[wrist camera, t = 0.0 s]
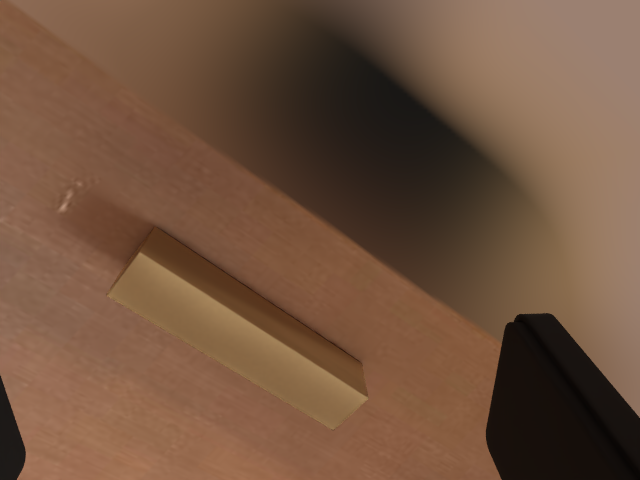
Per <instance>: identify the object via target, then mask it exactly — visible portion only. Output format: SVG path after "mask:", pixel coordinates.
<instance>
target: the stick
mask: <svg viewBox="0 0 640 480" xmlns="http://www.w3.org/2000/svg"><path fill="white" fill-rule="evenodd" d="M107 296H108V297H110V298H111V299H113V300H115V301H116V302H118V303H120V304H122V305H123V306H125V307H127V308H128V309H130V310H132V311H133V312H135V313H137V314H138V315H140V316H142V317H143V318H145V319H147V320H148V321H150V322H152V323H153V324H155V325H157V326H158V327H160V328H162V329H164V330H165V331H167V332H169V333H170V334H172V335H174V336H175V337H177V338H179V339H180V340H182V341H184V342H185V343H187V344H189V345H190V346H192V347H194V348H195V349H197V350H199V351H200V352H202V353H204V354H206V355H207V356H209V357H211V358H212V359H214V360H216V361H217V362H219V363H221V364H222V365H224V366H226V367H227V368H229V369H231V370H232V371H234V372H236V373H237V374H239V375H241V376H243V377H244V378H246V379H248V380H249V381H251V382H253V383H254V384H256V385H258V386H259V387H261V388H263V389H264V390H266V391H268V392H269V393H271V394H273V395H274V396H276V397H278V398H279V399H281V400H283V401H285V402H286V403H288V404H290V405H291V406H293V407H295V408H296V409H298V410H300V411H301V412H303V413H305V414H306V415H308V416H310V417H311V418H313V419H315V420H316V421H318V422H320V423H322V424H323V425H325V426H327V427H328V428H330V429H332V430H335V429H336V428H337V427H338V426H339V425H340V424H341V423H342V422H343V421H344V420H346V419H347V418H348V417H349V416H350V415H351V414H352V413H353V412H354V411H355V410H356V409H358V408H359V407H360V406H361V405H362V404H363V403H364V402H365V401H366V400H367V399H368V393H367V388H366V383H365V378H364V372H363V367H362V363H360V362H359V361H357V360H356V359H354V358H353V357H351V356H350V355H348V354H347V353H345V352H344V351H342V350H341V349H339V348H338V347H336V346H335V345H333V344H332V343H330V342H329V341H327V340H326V339H324V338H323V337H321V336H319V335H318V334H316V333H315V332H313V331H312V330H310V329H309V328H307V327H306V326H304V325H303V324H301V323H300V322H298V321H297V320H295V319H294V318H292V317H291V316H289V315H288V314H286V313H285V312H283V311H282V310H280V309H279V308H277V307H276V306H274V305H273V304H271V303H270V302H268V301H267V300H265V299H264V298H262V297H261V296H259V295H258V294H256V293H255V292H253V291H252V290H250V289H249V288H247V287H246V286H244V285H243V284H241V283H240V282H238V281H237V280H235V279H234V278H232V277H231V276H229V275H228V274H226V273H225V272H223V271H222V270H220V269H219V268H217V267H216V266H214V265H213V264H211V263H210V262H208V261H207V260H205V259H204V258H202V257H201V256H199V255H198V254H196V253H195V252H193V251H192V250H190V249H189V248H187V247H186V246H184V245H183V244H181V243H180V242H178V241H177V240H175V239H173V238H172V237H170V236H169V235H167V234H166V233H164V232H163V231H161V230H160V229H158V228H157V227H154V228H153V229H152V231H151V232H150V233H149V235H148V236H147V237H146V239H145V240H144V241H143V243H142V244H141V245H140V246H139V248H138V249H137V250H136V252H135V253H134V254H133V256H132V257H131V258H130V260H129V261H128V262H127V263H126V265H125V266H124V268H123V269H122V271H121V272H120V274H119V276H118V277H117V279H116V280H115V282H114V284H113V285H112V287H111V288H110V290H109V291H108V293H107Z"/></svg>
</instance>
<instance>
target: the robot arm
mask: <svg viewBox="0 0 640 480" xmlns="http://www.w3.org/2000/svg"><path fill="white" fill-rule="evenodd" d="M486 441H487V446H488V449H489V452H490V454H491V456H492V458H493V461H494V463H495V465H496V467H497V470H498V472H499V474H500V477H501V479H502V480H640V418H639V416H638V415H637V414H636V413H635V412H634V411H633V409H632V408H631V407H630V406H629V405H628V403H627V402H626V401H625V400H624V399H623V398H622V396H621V395H620V394H619V393H618V392H617V390H616V389H615V388H614V387H613V386H612V384H611V383H610V382H609V381H608V380H607V378H606V377H605V376H604V375H603V374H602V372H601V371H600V370H599V369H598V368H597V367H596V365H595V364H594V363H593V362H592V361H591V359H590V358H589V357H588V356H587V355H586V353H584V351H583V350H582V349H581V348H580V346H579V345H578V344H577V343H576V342H575V340H574V339H573V338H572V337H571V336H570V334H569V333H568V332H567V331H566V330H565V328H564V327H563V326H562V325H561V324H560V322H559V321H558V320H557V319H556V318H555V317H554V316H553V315H552V314H548V313H546V314H545V313H543V314H519V315H517V316H516V318H515V320H514V322H509V323H507V325H506V327H505V331H504V337H503V341H502V347H501V352H500V357H499V363H498V368H497V374H496V379H495V384H494V390H493V395H492V401H491V406H490V411H489V417H488V422H487V427H486ZM25 457H26V451H25V447H24V444H23V441H22V438H21V435H20V432H19V429H18V426H17V423H16V420H15V417H14V414H13V411H12V408H11V405H10V402H9V399H8V396H7V394H6V391H5V388H4V385H3V382H2V379H1V376H0V480H17V478H18V476H19V474H20V473H21V471H22V469H23V466H24V463H25Z"/></svg>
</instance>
